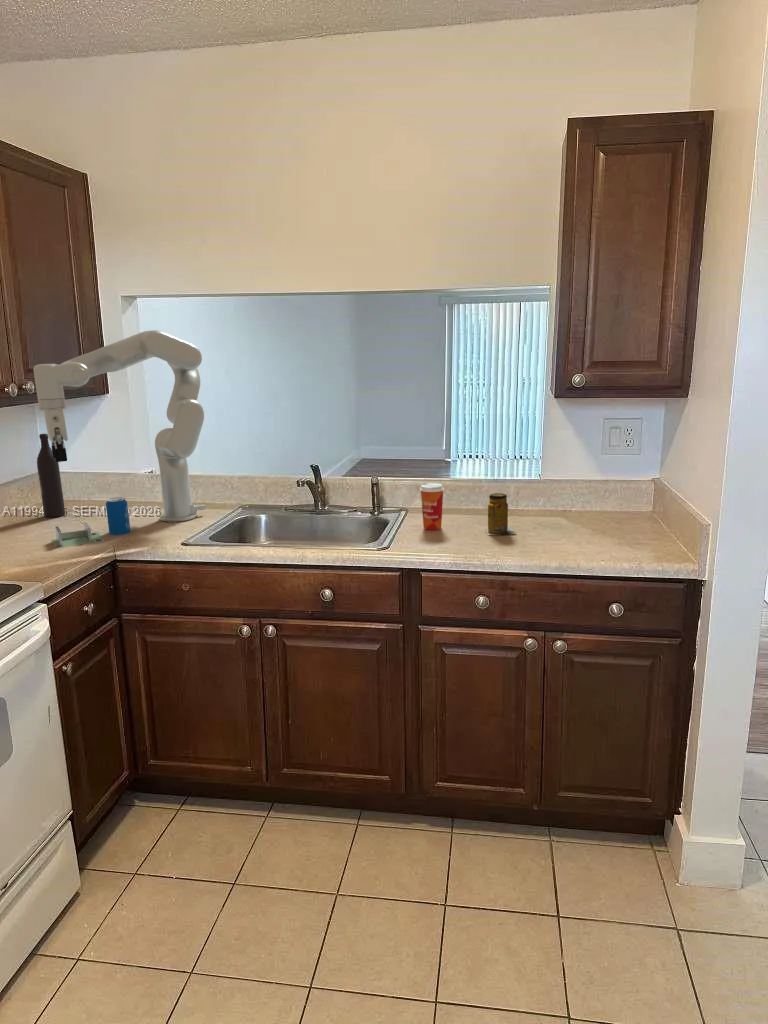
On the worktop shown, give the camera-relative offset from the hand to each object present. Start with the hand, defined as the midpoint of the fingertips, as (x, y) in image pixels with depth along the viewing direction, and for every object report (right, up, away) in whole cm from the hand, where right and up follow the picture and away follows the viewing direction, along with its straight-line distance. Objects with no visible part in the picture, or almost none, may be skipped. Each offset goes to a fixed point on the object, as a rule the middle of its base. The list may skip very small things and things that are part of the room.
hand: (60, 459), depth 224 cm
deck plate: (+6, -26, -1) cm, 27 cm away
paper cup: (+117, -22, +3) cm, 120 cm away
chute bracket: (+5, -26, -2) cm, 26 cm away
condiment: (+138, -23, -3) cm, 140 cm away
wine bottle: (-18, -18, +36) cm, 45 cm away
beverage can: (+16, -24, +7) cm, 30 cm away
